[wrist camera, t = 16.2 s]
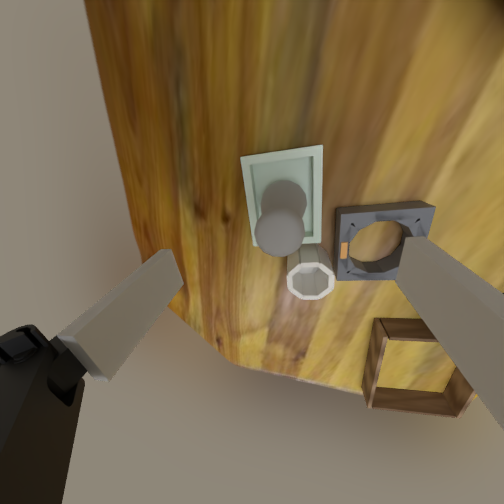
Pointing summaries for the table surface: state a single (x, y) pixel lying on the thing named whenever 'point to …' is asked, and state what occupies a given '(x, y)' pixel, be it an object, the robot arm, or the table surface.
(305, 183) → the mint green tray
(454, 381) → the book tray
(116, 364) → the robot arm
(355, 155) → the table surface
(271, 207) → the salt shaker
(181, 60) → the table surface
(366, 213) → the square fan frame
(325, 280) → the octagonal gray cup
